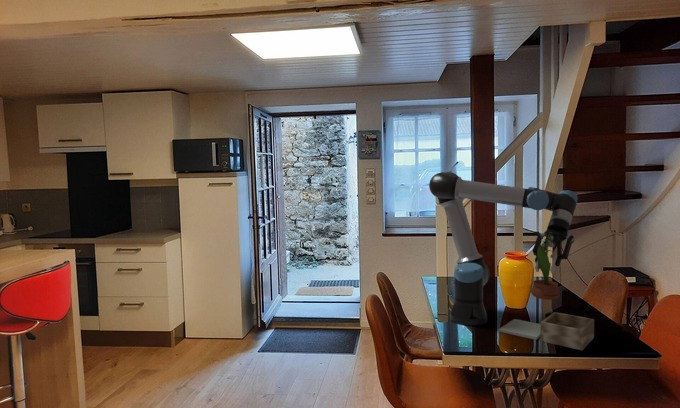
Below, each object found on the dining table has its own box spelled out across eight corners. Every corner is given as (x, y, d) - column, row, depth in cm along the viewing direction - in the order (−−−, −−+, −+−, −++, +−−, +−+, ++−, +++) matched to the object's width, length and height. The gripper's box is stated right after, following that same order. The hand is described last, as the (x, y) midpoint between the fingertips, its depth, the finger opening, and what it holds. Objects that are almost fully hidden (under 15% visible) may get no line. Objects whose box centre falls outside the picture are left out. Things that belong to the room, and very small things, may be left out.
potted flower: (535, 291, 175) (537, 229, 173) (563, 295, 169) (565, 231, 167) (527, 298, 166) (529, 232, 164) (556, 302, 160) (558, 234, 158)
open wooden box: (540, 340, 161) (540, 322, 161) (554, 329, 173) (554, 312, 173) (582, 350, 152) (582, 330, 152) (593, 337, 164) (594, 319, 163)
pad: (499, 331, 172) (499, 328, 172) (514, 321, 184) (514, 318, 184) (536, 339, 162) (536, 337, 162) (549, 328, 174) (550, 326, 174)
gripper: (586, 231, 171) (572, 280, 160) (538, 227, 183) (522, 273, 172) (582, 218, 166) (568, 268, 155) (534, 215, 178) (517, 261, 168)
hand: (544, 270), depth 164 cm, fingers closed on potted flower, 5 cm apart
